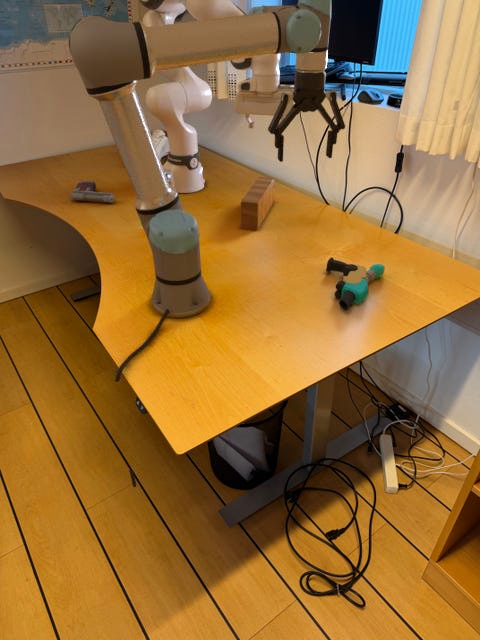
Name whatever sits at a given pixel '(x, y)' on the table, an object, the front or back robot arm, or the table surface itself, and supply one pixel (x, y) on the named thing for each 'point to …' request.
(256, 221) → the bar
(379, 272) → the toy gun
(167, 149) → the sneaker
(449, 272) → the table surface
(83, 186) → the toy gun
